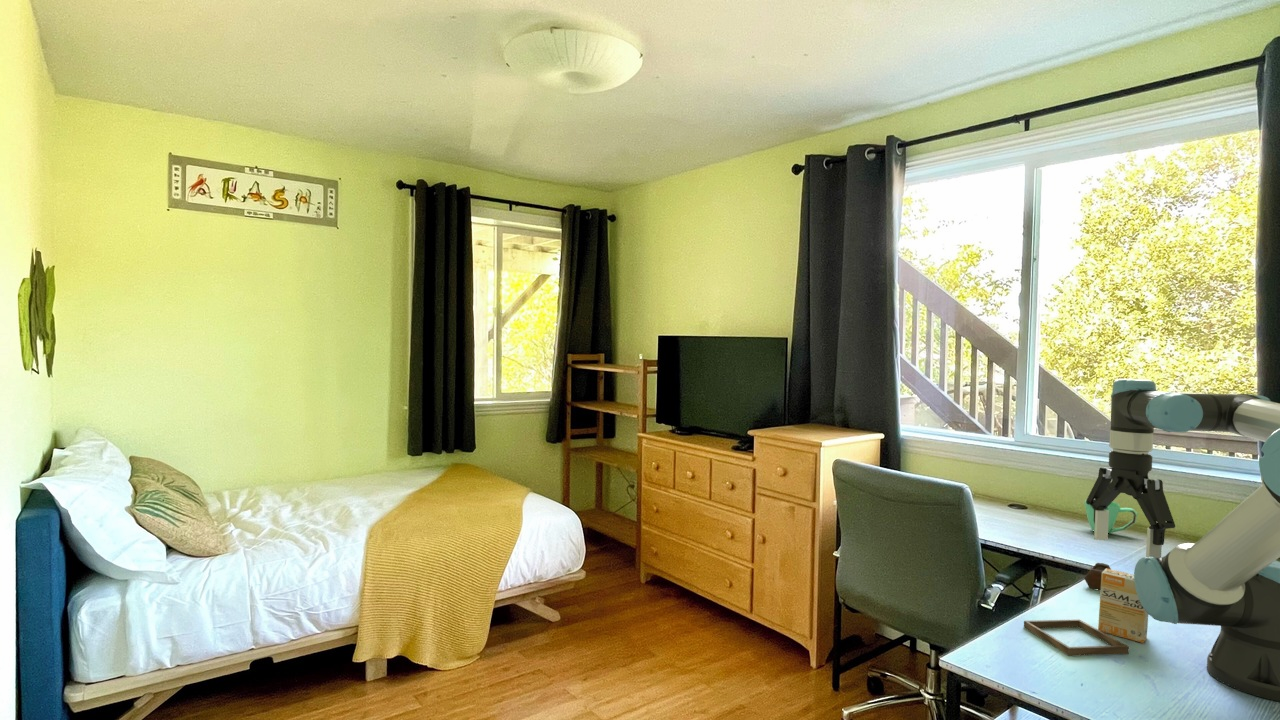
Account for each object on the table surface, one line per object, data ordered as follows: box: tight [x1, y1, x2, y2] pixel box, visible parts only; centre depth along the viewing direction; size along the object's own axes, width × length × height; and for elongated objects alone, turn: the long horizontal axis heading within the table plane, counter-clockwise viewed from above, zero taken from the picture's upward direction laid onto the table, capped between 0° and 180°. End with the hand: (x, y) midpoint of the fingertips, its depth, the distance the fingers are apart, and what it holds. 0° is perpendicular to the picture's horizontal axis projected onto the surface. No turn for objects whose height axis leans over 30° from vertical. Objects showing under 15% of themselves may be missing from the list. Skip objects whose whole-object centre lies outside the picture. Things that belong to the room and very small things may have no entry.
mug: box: [1084, 499, 1139, 534], centre depth 225 cm, size 15×10×10 cm
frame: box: [1023, 619, 1130, 657], centre depth 141 cm, size 13×13×2 cm
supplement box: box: [1097, 568, 1149, 644], centre depth 145 cm, size 8×5×13 cm, turn 45°
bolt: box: [1083, 562, 1112, 591], centre depth 177 cm, size 6×5×15 cm
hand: (1125, 549), depth 144 cm, fingers open, 13 cm apart
